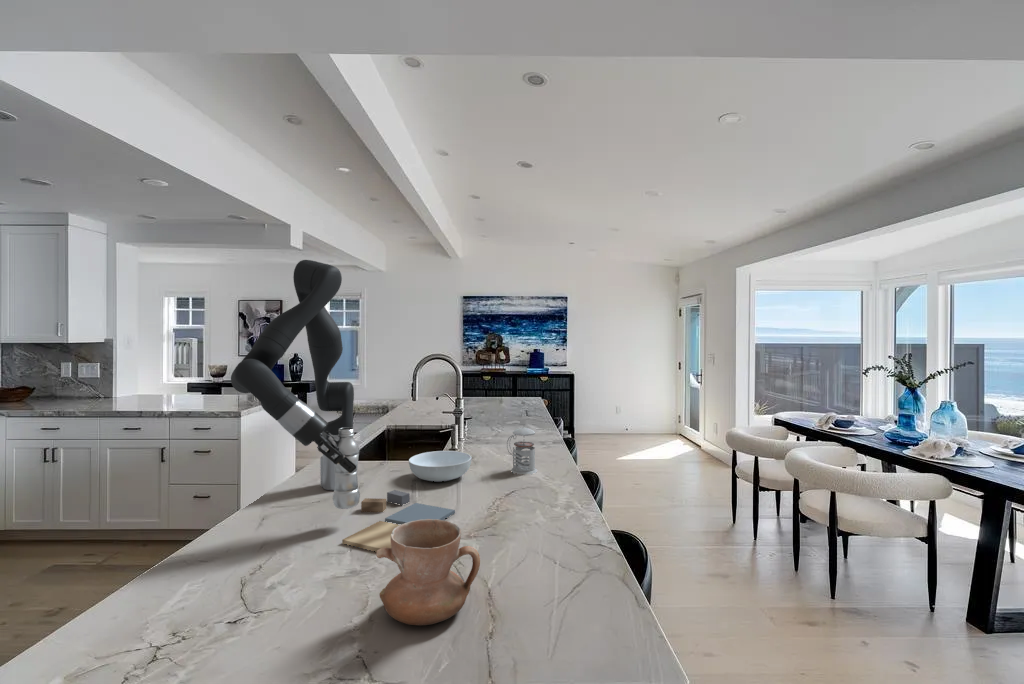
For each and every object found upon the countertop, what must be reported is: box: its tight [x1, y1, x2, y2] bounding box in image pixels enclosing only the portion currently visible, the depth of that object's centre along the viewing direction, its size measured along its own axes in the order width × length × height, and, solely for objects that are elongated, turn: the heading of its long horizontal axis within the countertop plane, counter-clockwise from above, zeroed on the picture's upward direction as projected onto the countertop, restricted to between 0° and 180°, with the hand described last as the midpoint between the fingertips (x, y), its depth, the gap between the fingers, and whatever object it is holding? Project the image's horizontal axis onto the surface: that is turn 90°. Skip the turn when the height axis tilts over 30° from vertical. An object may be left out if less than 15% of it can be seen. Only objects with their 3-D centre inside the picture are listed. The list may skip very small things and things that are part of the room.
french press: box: [506, 400, 538, 475], centre depth 179 cm, size 10×12×25 cm
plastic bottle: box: [332, 427, 361, 510], centre depth 127 cm, size 6×7×20 cm
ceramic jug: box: [376, 519, 481, 626], centre depth 89 cm, size 18×14×14 cm
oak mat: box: [341, 520, 399, 553], centre depth 120 cm, size 13×13×1 cm
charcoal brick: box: [386, 489, 411, 505], centre depth 145 cm, size 6×3×3 cm, turn 56°
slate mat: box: [384, 502, 456, 524], centre depth 133 cm, size 13×13×1 cm
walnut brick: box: [360, 497, 387, 513], centre depth 139 cm, size 6×3×3 cm, turn 87°
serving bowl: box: [408, 450, 472, 483], centre depth 170 cm, size 21×21×7 cm
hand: (353, 466), depth 128 cm, fingers closed on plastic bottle, 6 cm apart
